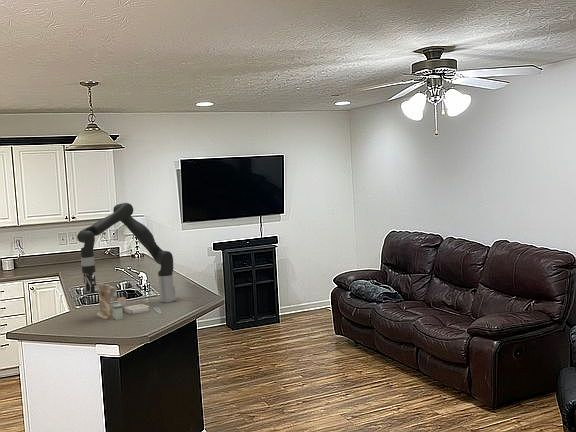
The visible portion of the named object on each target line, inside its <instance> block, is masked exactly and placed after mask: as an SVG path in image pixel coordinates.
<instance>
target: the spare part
mask: <svg viewBox="0 0 576 432" xmlns="http://www.w3.org/2000/svg"><path fill="white" fill-rule="evenodd" d="M126 298H127V297H125V296H122V297H117V301H116V302H117V305H118V304H120V305H122V312H124V307H127V299H126Z"/></svg>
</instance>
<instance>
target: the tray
mask: <svg viewBox="0 0 576 432" xmlns="http://www.w3.org/2000/svg"><path fill="white" fill-rule="evenodd" d="M150 311H151V310H150V306H149V305H146V304H143V303H141V304H140V303H139V304H136V305H135V304H134V305H129V306H126V307H124V311H123V312H124V313H125V314H127V315H130V316H132V315H139V314H143V313H148V312H150Z"/></svg>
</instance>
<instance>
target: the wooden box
mask: <svg viewBox="0 0 576 432" xmlns="http://www.w3.org/2000/svg"><path fill="white" fill-rule="evenodd" d="M97 290H98V303H99V311H100V312H96V316H97V317H100V318H102V319H104V320H111V319H114V315H113V309H112V303H115V302H117V298H118V293H117V292H118V291H117V287H116V286H112V285H109V284H106V283H102V282H98V283H97Z"/></svg>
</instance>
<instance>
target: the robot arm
mask: <svg viewBox="0 0 576 432" xmlns="http://www.w3.org/2000/svg"><path fill="white" fill-rule="evenodd" d="M112 210H113V213H111V214H108V215H107V216H105V217H103V218H101V219H99V220H98V221H96V222H94V223H93V224H92V225H90V226H88V227H86V228H83V229H82V230H80V231H79V232H78V233H77V235H76V239H77V241H78V242H79V243H83V247H81V249H80V255H81V256H80V257H81V258H80V261H81V262H80V263H81V274H83V284H84V285H85V290H86V291H85V292H90V293H91V294H95V293H96V291H95V290H96V288H95V287H96V285H97V281H96V276H95V275H94V273H95V272H96V261H95V253H94V247H95V242H96V236H100V235H101V234H103V233H104V232H105V231H107V230H109V229H110V228H111V227H112V226H115V225H116V224H117V223H119V222H121V223H122V224H123V225H124V226H126V228H127V229H128V230H129V232H131V233H132V235H133V236H134V238H135V239H137V241H138V242H139V243H140V244H141V245H142V246H143V247H144V248H145V249H146V250H147V251H148V252H149V254H150V255H151V257H152V258H153V260H154V261H155V263H157V264H159V265H160V269H159V270H158V271H157V274H158V275H157V276H158V287H159V288H158V289H159V302H160V303H172V302H175V301H177V299H176V286H175V285H174V275H173V272H174V256H173V253H172V252H171V251H168V250H163V249H162V248H161V247H160V246H159V245H158V244H157V242H156V239H155V238H154V237H155V236H154V235H153V233H152V232H151V231H150V229H149V228H148V227H147V226H146V225H144V224H143V223H141V222H139V221H138V220H136V219H135V218H133V217H132V215H133V213H134V207H133V204H131V203H129V202H122V203H118V204H115V205H114V206H113V209H112Z"/></svg>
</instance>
